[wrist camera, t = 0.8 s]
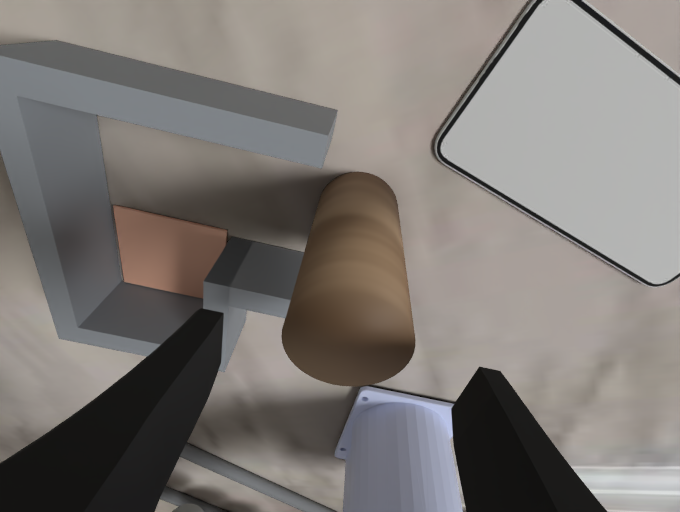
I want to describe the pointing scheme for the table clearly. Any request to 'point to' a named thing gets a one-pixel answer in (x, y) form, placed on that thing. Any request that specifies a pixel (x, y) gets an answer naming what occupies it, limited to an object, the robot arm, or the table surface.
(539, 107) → the smartphone
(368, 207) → the peg
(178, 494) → the newton's cradle
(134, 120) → the channel
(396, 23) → the table surface
